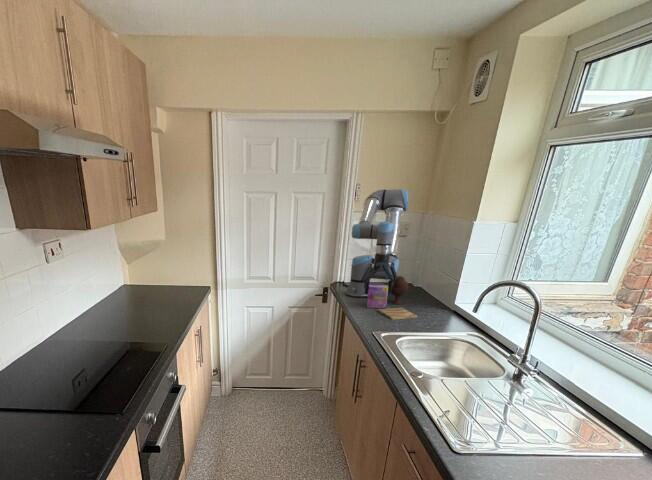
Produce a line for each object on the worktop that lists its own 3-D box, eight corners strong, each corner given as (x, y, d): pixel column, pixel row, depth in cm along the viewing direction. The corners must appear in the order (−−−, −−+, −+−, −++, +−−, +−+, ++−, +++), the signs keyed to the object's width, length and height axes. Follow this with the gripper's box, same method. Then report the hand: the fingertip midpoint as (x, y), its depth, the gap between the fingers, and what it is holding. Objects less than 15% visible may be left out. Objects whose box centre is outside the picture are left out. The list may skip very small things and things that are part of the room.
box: (366, 307, 231) (368, 286, 226) (367, 304, 236) (369, 284, 230) (385, 308, 228) (388, 287, 223) (385, 306, 233) (388, 285, 228)
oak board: (377, 311, 224) (378, 309, 224) (401, 309, 227) (401, 307, 226) (392, 319, 210) (392, 317, 210) (417, 317, 213) (417, 316, 212)
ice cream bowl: (382, 301, 241) (385, 275, 234) (397, 299, 245) (401, 274, 239) (395, 306, 232) (399, 279, 226) (410, 303, 237) (414, 277, 230)
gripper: (363, 255, 213) (359, 296, 223) (407, 253, 218) (402, 293, 227) (357, 253, 220) (353, 293, 229) (400, 251, 225) (395, 290, 234)
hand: (377, 293), depth 228 cm, fingers open, 13 cm apart
